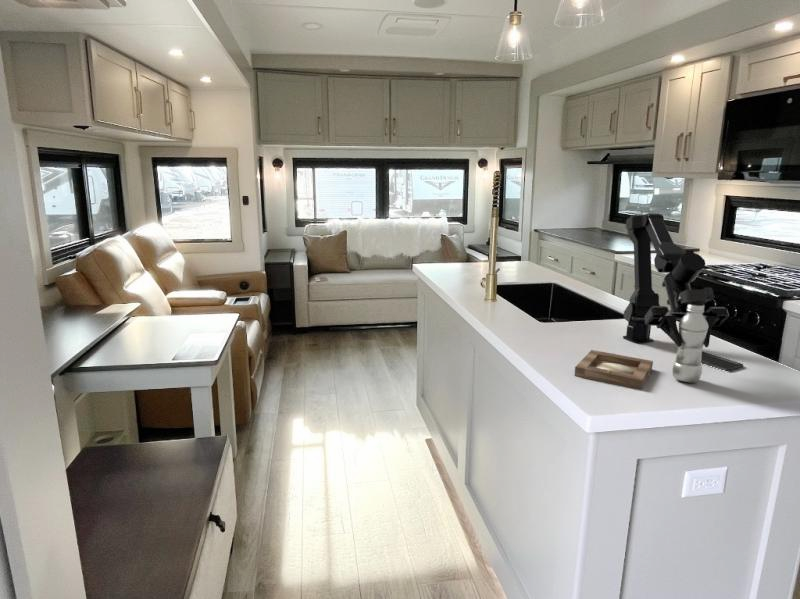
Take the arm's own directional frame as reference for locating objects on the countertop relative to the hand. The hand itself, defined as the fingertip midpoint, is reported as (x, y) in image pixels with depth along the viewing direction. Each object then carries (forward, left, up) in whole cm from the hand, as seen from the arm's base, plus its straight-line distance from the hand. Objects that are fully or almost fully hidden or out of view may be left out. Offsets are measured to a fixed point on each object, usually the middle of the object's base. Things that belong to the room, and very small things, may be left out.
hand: (693, 346), depth 134 cm
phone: (-19, -9, -10) cm, 23 cm away
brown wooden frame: (+12, -12, -10) cm, 20 cm away
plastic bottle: (-1, -1, -10) cm, 10 cm away
